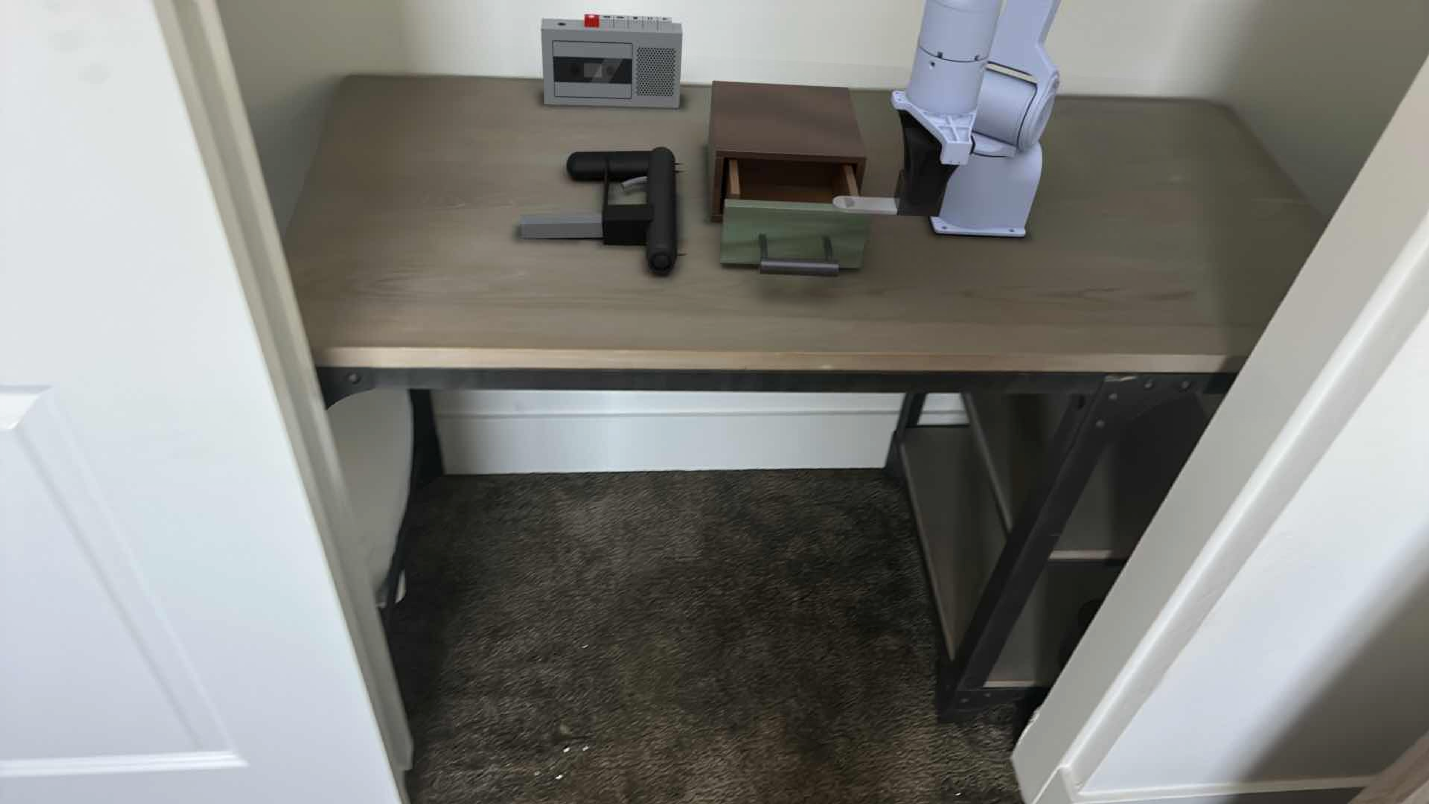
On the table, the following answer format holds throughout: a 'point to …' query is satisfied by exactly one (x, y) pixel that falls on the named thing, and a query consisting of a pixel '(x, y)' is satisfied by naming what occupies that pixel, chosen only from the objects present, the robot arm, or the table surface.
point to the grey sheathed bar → (889, 202)
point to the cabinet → (780, 129)
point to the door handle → (622, 205)
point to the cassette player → (612, 61)
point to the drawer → (790, 217)
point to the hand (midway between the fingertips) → (918, 195)
